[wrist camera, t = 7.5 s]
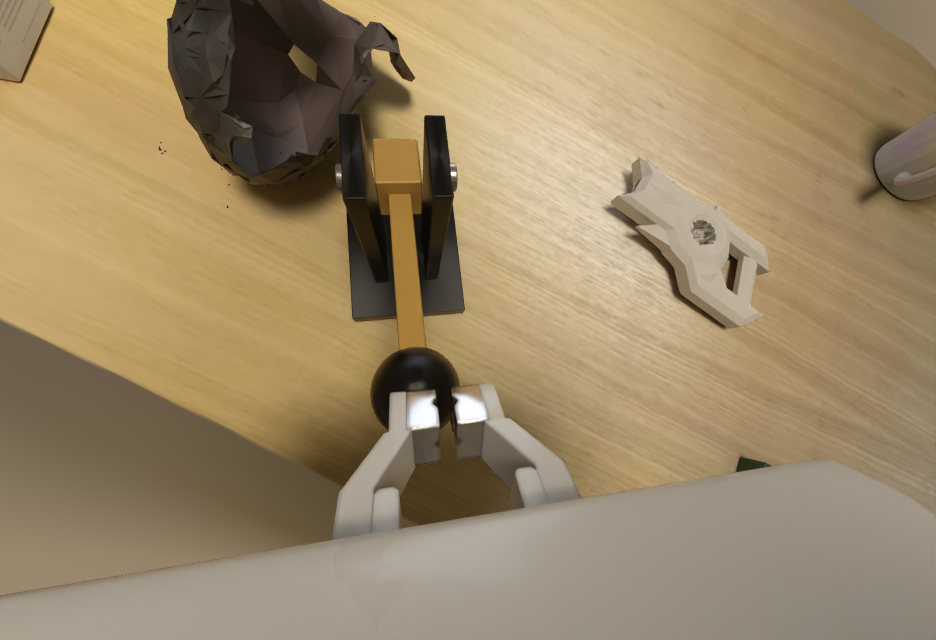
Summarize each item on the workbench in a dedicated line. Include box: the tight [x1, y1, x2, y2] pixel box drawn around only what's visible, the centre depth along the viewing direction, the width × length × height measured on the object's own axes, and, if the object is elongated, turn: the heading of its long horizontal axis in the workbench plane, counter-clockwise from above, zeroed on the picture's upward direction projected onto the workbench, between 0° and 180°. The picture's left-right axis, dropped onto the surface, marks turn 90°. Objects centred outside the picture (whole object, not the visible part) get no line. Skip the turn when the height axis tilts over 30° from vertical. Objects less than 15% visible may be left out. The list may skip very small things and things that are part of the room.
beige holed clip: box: [611, 157, 770, 328], centre depth 32 cm, size 18×3×10 cm
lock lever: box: [370, 139, 460, 430], centre depth 15 cm, size 14×4×4 cm, turn 6°
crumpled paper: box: [159, 0, 415, 208], centre depth 23 cm, size 14×15×20 cm
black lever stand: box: [335, 113, 465, 322], centre depth 22 cm, size 10×9×14 cm
